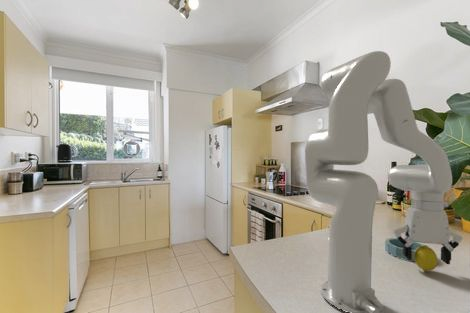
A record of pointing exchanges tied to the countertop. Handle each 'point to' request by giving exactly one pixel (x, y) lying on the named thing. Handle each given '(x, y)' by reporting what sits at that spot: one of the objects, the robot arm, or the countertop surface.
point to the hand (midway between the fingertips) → (426, 260)
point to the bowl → (399, 248)
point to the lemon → (425, 258)
